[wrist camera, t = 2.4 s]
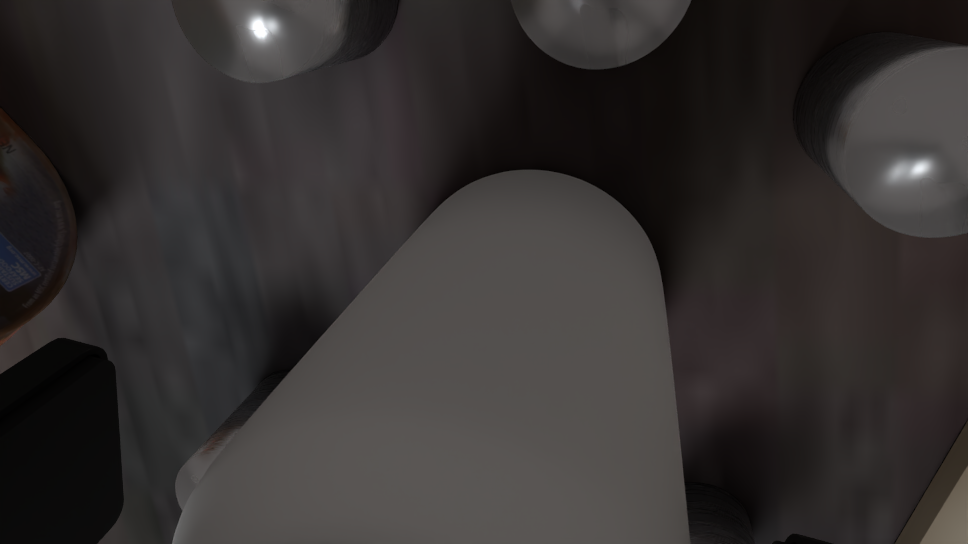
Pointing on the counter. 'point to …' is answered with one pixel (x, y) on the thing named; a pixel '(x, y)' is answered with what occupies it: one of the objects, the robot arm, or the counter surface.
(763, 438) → the counter surface
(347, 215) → the counter surface
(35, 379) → the robot arm
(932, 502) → the board
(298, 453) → the can
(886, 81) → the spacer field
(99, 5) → the counter surface
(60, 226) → the tin
